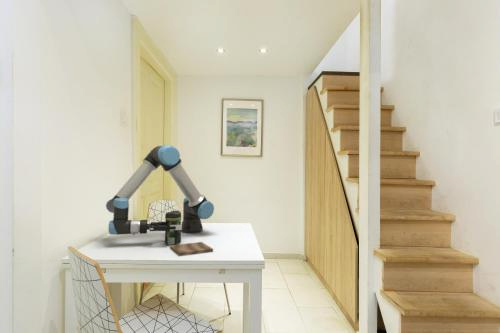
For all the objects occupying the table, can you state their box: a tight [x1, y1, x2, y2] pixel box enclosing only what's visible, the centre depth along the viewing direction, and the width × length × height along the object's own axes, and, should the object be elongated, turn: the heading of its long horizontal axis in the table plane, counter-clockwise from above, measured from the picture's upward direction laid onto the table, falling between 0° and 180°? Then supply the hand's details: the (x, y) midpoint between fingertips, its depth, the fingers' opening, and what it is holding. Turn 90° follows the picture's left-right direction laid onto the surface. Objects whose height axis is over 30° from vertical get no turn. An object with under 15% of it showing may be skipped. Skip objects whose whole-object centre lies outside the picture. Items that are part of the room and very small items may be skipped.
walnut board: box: [169, 241, 214, 257], centre depth 159 cm, size 18×16×2 cm
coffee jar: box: [164, 210, 182, 246], centre depth 172 cm, size 10×8×19 cm
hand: (181, 225), depth 173 cm, fingers closed on coffee jar, 9 cm apart
